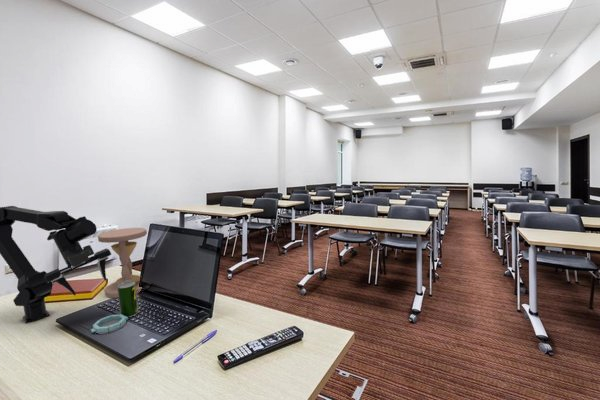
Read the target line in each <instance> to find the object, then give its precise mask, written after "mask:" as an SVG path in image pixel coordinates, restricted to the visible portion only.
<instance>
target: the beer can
mask: <svg viewBox="0 0 600 400" xmlns="http://www.w3.org/2000/svg"><path fill="white" fill-rule="evenodd" d="M117 289H118V297H119V298H118V303H119V311H120V314H122V315H124V316H127V317H131V316H134V315H136V314H137V313H138V312H139V305H138V299H137V298H138V296H137V295H138V294H137V295H136V286H135V282H134V280H131V279H130V280H124V281H121V282H119V283H118V286H117ZM137 315H138V314H137ZM137 315H136V316H137ZM134 317H135V316H134ZM131 318H132V317H131Z"/></svg>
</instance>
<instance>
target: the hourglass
mask: <svg viewBox="0 0 600 400" xmlns="http://www.w3.org/2000/svg"><path fill="white" fill-rule="evenodd" d="M147 234H148V231H147V229H146V228H144V227H127V228H119V229H113V230H110V231H109V230H108V231H105V232H102V233H99V234H98V235H97V241H98V242H99V243H108V244H109V243H114V244H112V245H110V247H111V250H113V251H114V252H115V253H116V254H117V255H118V257H119V261H120V264H121V272H120V274H121V277H120V278H118V279H116V281H115V282H113V283H111V284H109V285H107V286H106V287H105V288H104V295H105V297H107V298H108V299H117V298H116V297H118V289H117V286H118V283H119V282H121V281H124V280H130V279H131V280H134V282H135V286H136V294H137V293H139V292H140V291H141V289H142V287H139V280H140V277H141V276H140V275H138V274H133V263H132V259H131V255H132V253H133V252H134V250H135V248H136V247H137V244H138V242H137V241H134V240H137V239H140V238H143V237H145V236H147ZM132 240H133V241H132ZM137 295H138V294H137Z"/></svg>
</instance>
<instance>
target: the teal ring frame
mask: <svg viewBox="0 0 600 400" xmlns="http://www.w3.org/2000/svg"><path fill="white" fill-rule="evenodd" d="M127 320H129V318H128V317H127V316H124V315H122V314H121V313H120V314H111V315H108V316H105V317H102V318H100V319H98V320H96V322H95V323H94V324H92V328H90V331H91V333H94V332H96V333H107V332H111V333H113V331H114V332H116V330H117V331H119V330H120V329H122V328H124V327H125V326H124V325H126V324H127ZM96 333H94V334H96ZM107 334H108V333H107Z"/></svg>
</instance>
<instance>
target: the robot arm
mask: <svg viewBox="0 0 600 400" xmlns="http://www.w3.org/2000/svg"><path fill="white" fill-rule="evenodd" d="M15 222H22V223H27V224H33V225H36V226H37V228H39V229H41V230H44V231H47V232H49V231H50V232H49V233H48V236H47V238H46V240H47V241H52V240H53V242H54V243H55V245H56V247H57V248H58V250H59V253H60V254H61V257H62V259H63V260H64V262H65V264H66V267H63V268H61V269H59V268H56V269H54V270H51V271H49V272H46V271H45V270H43V271H38V270H36V269H35V268H34V266H33V265H32V263H31V262H30V261H29V259H28V258H27V256H26V255H25V253H24V252H23V251H22V249H21V248H20V246H19V245H18V244H17V243H16V241H15V240H14V238H13V231H14V229H13V226H12V225H14V223H15ZM96 233H97V225H96V224H95V223H94V222H93V221H92V220H90V219H87V217H86V216H80V217H78V218H75V217H73V216H72V215H70V214H69V213H68V211H64V210H55V211H54V210H51V211H41V210H35V209H30V208H22V207H18V206H14V205H7V206H0V256H1V257H2V258H3V260H4V261H5V263H6V264H7V266H8V267H9V269H10V270H11V271H12V272H13V274H14V275H15V277H16V278H17V286H16V288H17V291H18V293H17V294H16V296H15V297H14V299H13V300H12V302H13V303H14V305H15V306H16V307H23V312H24V315H23V316H22V319H23V321H24V323H25V324H27V323H30V322H34V321H37V320H39V319H40V320H41V319H43V318H46V317H50V315H51V314H50V313H49V311H48V309H47V307H46V300H45V298H48V297H51V295H52V290H53V285H54V284H56V283H57V284H59V285H60V286H62V287H63V288H65V289H66V290H68V291H69V292H70V293H71V294H72V295H73V296H76V292H75V290H74V289H73V287H72V286H71V284H70V283H69V282H68V280H67V279H66V277H65V276H63V275H65V274H67V273H70V272H73V271H74V270H76V269H79V268H81V267H83V266H86V265H88V264H91V263H93V262H95V261H97V263H96V264H97V267H98V271H99V272H100V275H101V277H102V279H103V281H107V275H106V274H107V273H106V261H107V260H108V259H109V257H110V256H112V253H111V251H110V249H109V248H107V247H106V248H104V249H101V250H99V251H96V252H94V250H93V248H92V246H91V245H90V244H88V245H86V246H83V247H82V246H81V244H80V241H83V240H84V239H87V238H88V237H91V236H93V235H94V234H95V235H96Z"/></svg>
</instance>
